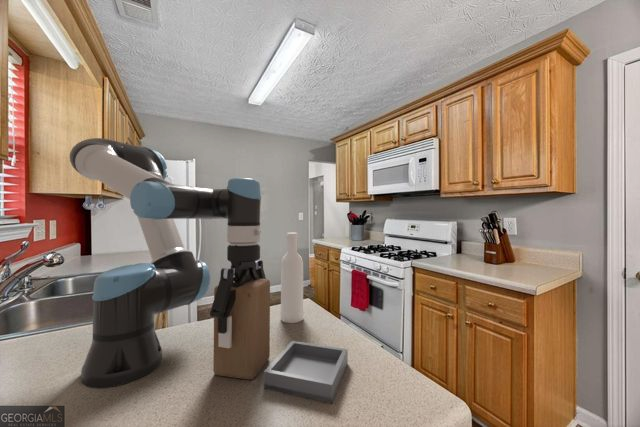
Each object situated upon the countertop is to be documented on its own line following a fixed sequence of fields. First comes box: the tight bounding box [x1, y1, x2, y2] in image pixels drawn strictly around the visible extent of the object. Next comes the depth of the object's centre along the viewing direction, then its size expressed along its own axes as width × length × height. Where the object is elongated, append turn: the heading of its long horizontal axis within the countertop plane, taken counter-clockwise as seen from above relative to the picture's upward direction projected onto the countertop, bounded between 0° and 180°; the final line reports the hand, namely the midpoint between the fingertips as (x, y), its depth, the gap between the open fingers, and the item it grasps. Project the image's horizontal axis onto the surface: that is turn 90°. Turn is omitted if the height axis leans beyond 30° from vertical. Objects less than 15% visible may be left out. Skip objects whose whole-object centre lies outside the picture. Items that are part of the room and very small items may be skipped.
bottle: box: [280, 232, 304, 324], centre depth 93 cm, size 8×8×30 cm
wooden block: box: [212, 278, 271, 380], centre depth 63 cm, size 10×10×20 cm
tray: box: [263, 340, 349, 404], centre depth 59 cm, size 14×14×4 cm
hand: (243, 333), depth 63 cm, fingers open, 13 cm apart
